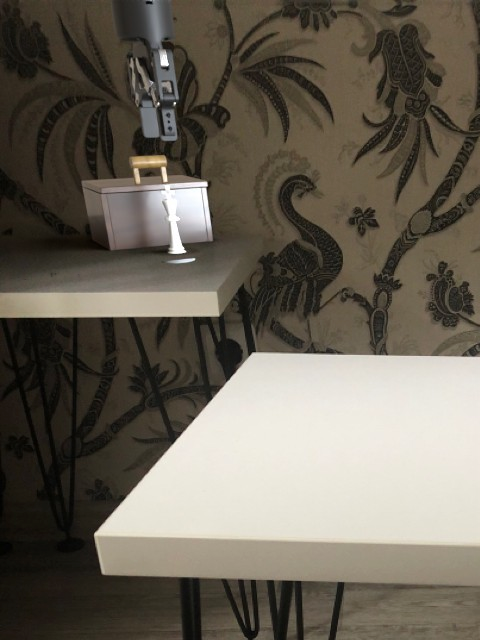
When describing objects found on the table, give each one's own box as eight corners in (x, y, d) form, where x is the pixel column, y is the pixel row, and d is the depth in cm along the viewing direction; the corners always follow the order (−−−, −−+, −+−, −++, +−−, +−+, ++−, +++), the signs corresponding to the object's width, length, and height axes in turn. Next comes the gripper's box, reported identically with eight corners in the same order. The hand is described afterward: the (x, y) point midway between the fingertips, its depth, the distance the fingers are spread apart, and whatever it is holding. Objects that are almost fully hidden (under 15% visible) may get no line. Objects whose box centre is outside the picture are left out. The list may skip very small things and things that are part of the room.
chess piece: (166, 257, 135) (155, 183, 130) (199, 257, 135) (189, 183, 130) (156, 263, 131) (144, 187, 126) (190, 263, 131) (179, 187, 126)
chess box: (214, 248, 142) (206, 187, 137) (112, 258, 135) (100, 194, 130) (191, 239, 150) (183, 180, 146) (94, 248, 143) (82, 186, 139)
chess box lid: (208, 186, 137) (203, 154, 134) (101, 193, 130) (95, 159, 128) (183, 180, 146) (178, 149, 144) (82, 186, 139) (76, 154, 137)
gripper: (97, 0, 120) (119, 137, 128) (124, -8, 110) (146, 142, 118) (154, 2, 124) (172, 136, 132) (185, -6, 113) (203, 140, 121)
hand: (160, 139), depth 125 cm, fingers open, 8 cm apart
